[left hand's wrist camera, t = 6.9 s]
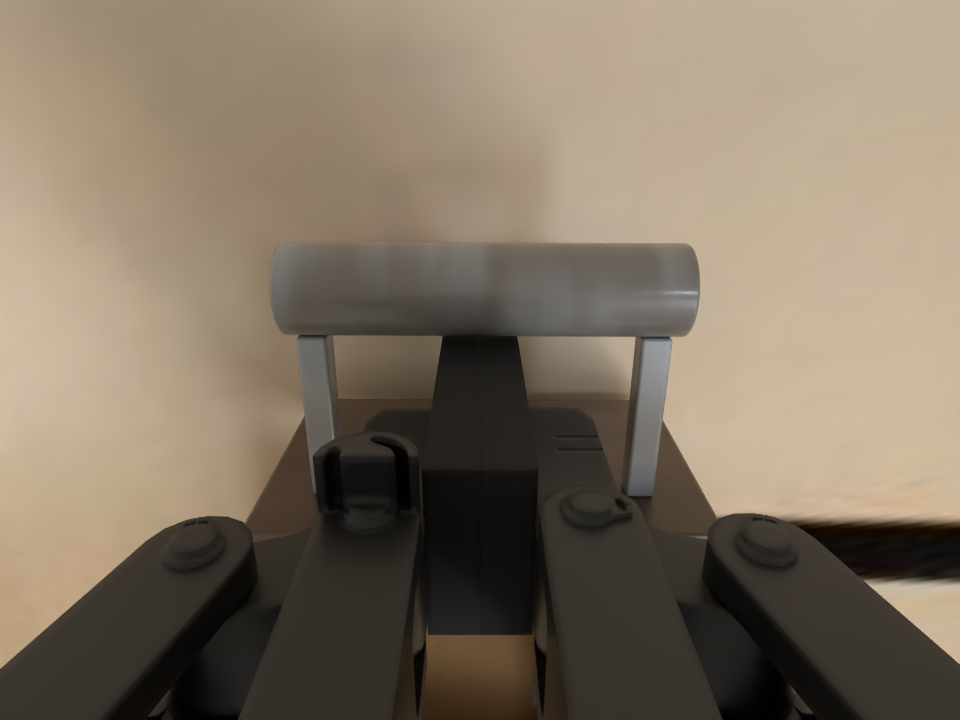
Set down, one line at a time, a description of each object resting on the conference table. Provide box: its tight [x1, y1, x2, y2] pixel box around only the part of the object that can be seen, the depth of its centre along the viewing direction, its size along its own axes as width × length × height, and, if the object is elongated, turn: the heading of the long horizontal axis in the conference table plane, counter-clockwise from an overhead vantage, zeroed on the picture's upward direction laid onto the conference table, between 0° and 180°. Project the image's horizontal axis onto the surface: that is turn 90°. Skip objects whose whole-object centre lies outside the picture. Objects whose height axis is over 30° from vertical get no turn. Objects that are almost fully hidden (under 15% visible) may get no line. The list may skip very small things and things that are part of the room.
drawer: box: [245, 242, 717, 720], centre depth 18 cm, size 25×10×6 cm, turn 0°
